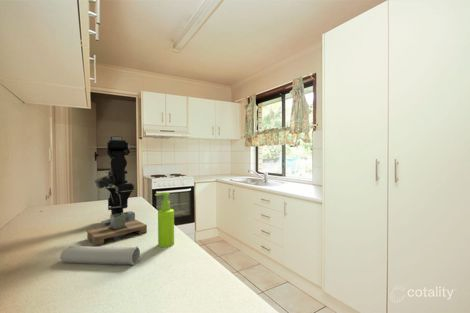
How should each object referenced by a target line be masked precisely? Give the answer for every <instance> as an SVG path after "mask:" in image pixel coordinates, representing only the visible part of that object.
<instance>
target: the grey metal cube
mask: <svg viewBox="0 0 470 313" xmlns="http://www.w3.org/2000/svg"><path fill="white" fill-rule="evenodd" d="M106 226H110V220H109V219H106V220H101V227H106Z"/></svg>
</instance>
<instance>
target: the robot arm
mask: <svg viewBox="0 0 470 313" xmlns="http://www.w3.org/2000/svg"><path fill="white" fill-rule="evenodd" d="M106 147H107V148H106V151H107V156H108V157H109V158H110V159H109V160H110V161H109V162H110V166H109V167H110V171H108V172H107V175H105V176H102V177H100V178H97V179H95V180H94V183H95V185H96V187H97V188H98V189H103V188H105V190H107V191H108V192H109V198H108V199H107V211H110V212H111V213H110V215H113V214H118V213H124V209H127V208H128V205H129V203H128V200H129V198H130V196H131V194H132V192H133V191H135V185H134V184H133V183H132V182H128V180H126V179H127V178H126V177H127V176H126V175H127V174H128V171H127V170H126V167H127V166H128V162H127V159H126V158H125V156H129V154H130V152H131V149H130V144H129V142H127V140H126V139H123V136H121V135H112V136H110V139H109V140H108V141H107V143H106ZM108 220H110V218H109V219H108Z"/></svg>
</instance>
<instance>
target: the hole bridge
mask: <svg viewBox="0 0 470 313" xmlns="http://www.w3.org/2000/svg"><path fill="white" fill-rule="evenodd" d="M147 226H148V225H147V224H146V223H143V222H141V221H139V220H137V219H135V220H133V221H129V222H125V228H124V229H120V230H115V231H112V230H110V226H106V227H102V226H101V227H98V228H93V229H89V230H88V229H87V230H86V232H87V233H86V236H87V240H88V241H89V242H90V243H91V244H92V245H93V247H100V246H103V245H105V239H109V238H113V237H114V236H118V235H122V234H125V235H126V234H130V233H137V234H138V235H144V234H147V233H148V230H147V229H148V228H147Z"/></svg>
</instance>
